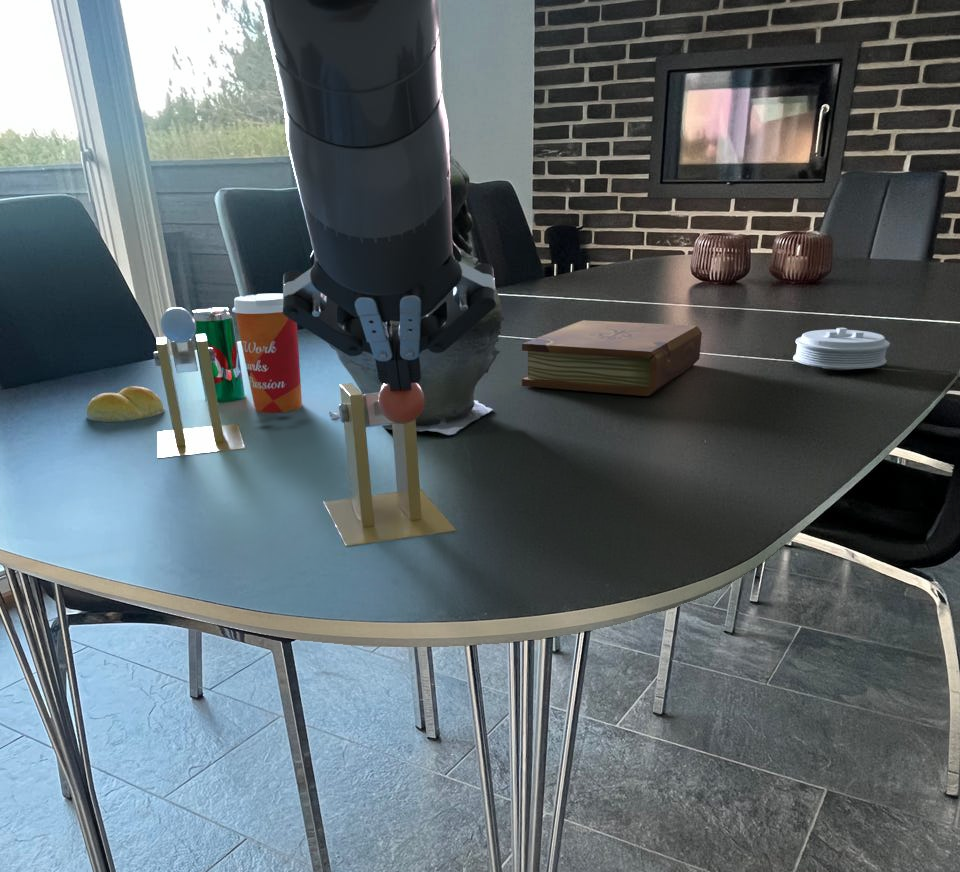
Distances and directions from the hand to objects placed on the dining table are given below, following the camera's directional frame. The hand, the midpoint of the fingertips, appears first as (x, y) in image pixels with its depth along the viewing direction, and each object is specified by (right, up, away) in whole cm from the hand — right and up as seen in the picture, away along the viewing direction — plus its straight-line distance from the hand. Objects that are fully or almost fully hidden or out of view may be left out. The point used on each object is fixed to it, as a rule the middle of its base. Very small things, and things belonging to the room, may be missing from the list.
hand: (401, 379), depth 59 cm
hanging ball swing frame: (-25, +3, +37) cm, 45 cm away
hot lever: (-1, -2, +6) cm, 6 cm away
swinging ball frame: (-2, -8, +15) cm, 17 cm away
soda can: (-28, +13, +55) cm, 63 cm away
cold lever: (-24, +11, +28) cm, 38 cm away
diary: (+25, +20, +66) cm, 73 cm away
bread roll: (-38, +9, +49) cm, 63 cm away
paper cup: (-20, +10, +50) cm, 54 cm away
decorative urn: (-2, +10, +48) cm, 49 cm away
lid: (+58, +22, +67) cm, 91 cm away
